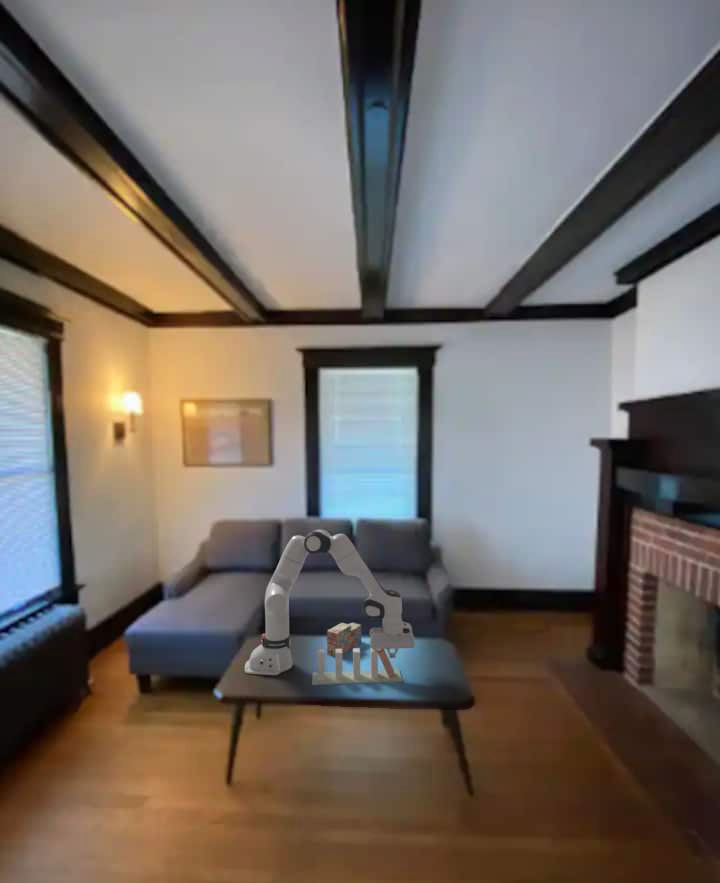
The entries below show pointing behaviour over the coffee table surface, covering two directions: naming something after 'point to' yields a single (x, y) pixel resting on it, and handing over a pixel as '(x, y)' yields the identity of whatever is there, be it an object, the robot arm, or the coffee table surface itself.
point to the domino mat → (348, 679)
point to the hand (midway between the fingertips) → (392, 657)
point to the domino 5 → (386, 662)
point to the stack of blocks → (343, 637)
